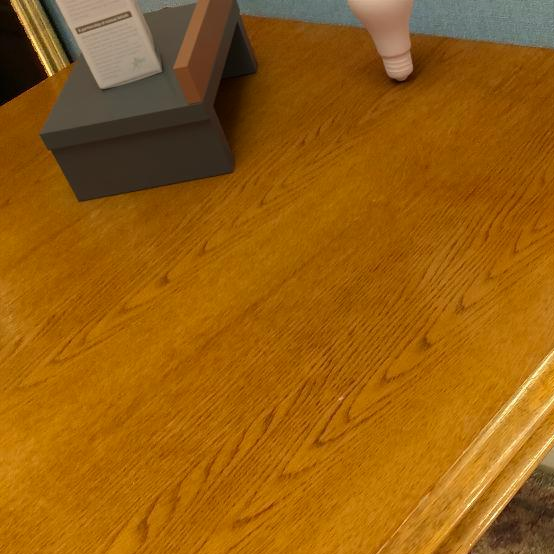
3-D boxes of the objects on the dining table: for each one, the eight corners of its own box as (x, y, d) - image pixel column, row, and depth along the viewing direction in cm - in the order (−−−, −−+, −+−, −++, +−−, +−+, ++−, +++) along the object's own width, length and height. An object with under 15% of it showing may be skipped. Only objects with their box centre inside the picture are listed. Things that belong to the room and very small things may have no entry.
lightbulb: (394, 101, 91) (360, -28, 83) (358, 84, 95) (322, -41, 87) (446, 74, 93) (418, -55, 85) (409, 58, 97) (378, -67, 89)
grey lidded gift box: (77, 204, 87) (18, 98, 80) (126, 87, 103) (81, -11, 96) (232, 175, 87) (187, 65, 80) (258, 62, 102) (222, -39, 95)
